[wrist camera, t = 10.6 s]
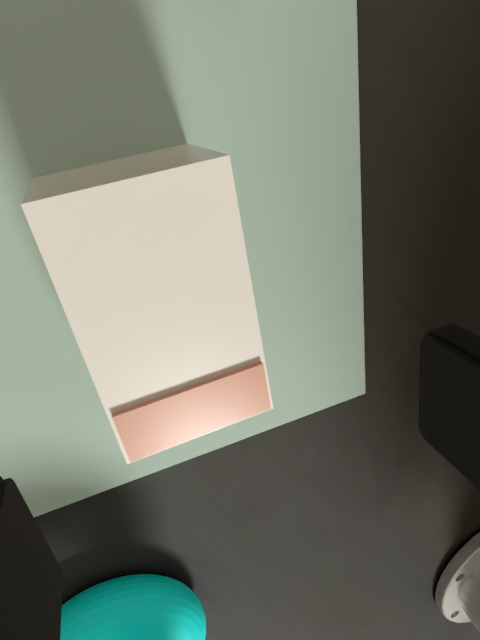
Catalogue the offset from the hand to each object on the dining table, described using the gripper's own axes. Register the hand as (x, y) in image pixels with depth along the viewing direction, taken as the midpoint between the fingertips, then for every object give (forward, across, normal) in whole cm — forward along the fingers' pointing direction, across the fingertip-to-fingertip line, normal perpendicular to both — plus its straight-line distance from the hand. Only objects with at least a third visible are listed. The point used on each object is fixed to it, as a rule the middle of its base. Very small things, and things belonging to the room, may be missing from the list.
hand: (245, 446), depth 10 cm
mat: (+11, +1, -1) cm, 11 cm away
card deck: (+10, +1, -1) cm, 10 cm away
